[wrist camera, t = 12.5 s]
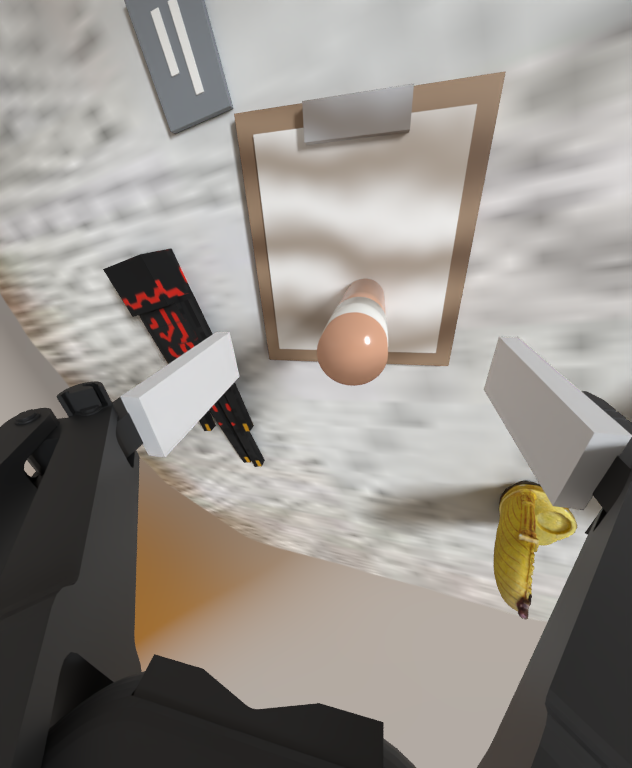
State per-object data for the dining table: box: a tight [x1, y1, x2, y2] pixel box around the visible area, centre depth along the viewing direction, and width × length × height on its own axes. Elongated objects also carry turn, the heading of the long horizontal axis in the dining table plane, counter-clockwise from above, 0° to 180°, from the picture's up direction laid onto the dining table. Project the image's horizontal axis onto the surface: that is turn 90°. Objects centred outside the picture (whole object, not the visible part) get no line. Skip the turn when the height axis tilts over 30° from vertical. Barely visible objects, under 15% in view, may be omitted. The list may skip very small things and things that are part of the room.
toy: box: [103, 249, 265, 467], centre depth 36 cm, size 8×5×30 cm
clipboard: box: [234, 72, 505, 366], centre depth 26 cm, size 22×20×2 cm
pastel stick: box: [317, 278, 388, 385], centre depth 22 cm, size 4×4×14 cm
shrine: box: [494, 481, 577, 619], centre depth 31 cm, size 12×8×15 cm
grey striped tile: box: [124, 0, 233, 134], centre depth 22 cm, size 8×6×1 cm
